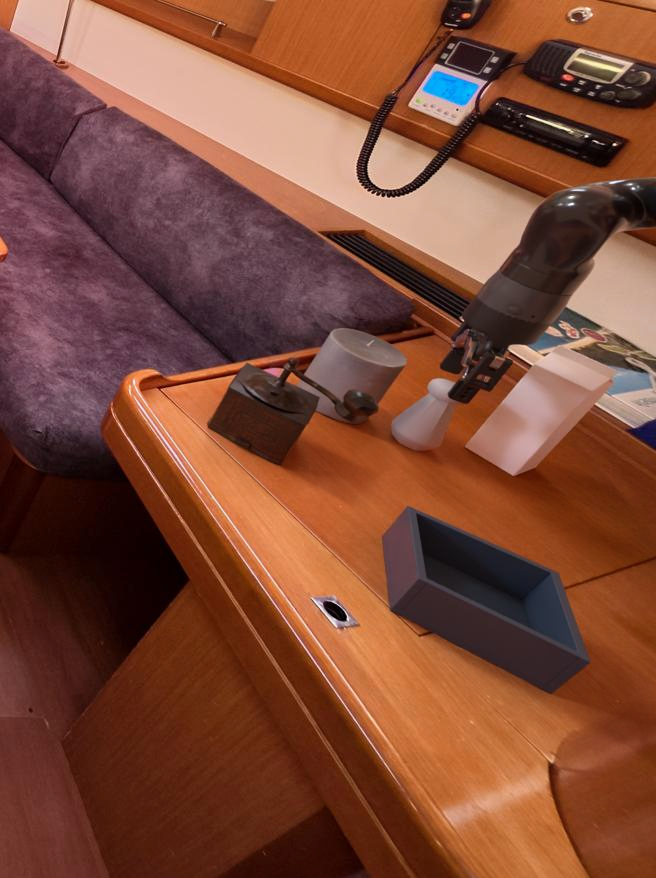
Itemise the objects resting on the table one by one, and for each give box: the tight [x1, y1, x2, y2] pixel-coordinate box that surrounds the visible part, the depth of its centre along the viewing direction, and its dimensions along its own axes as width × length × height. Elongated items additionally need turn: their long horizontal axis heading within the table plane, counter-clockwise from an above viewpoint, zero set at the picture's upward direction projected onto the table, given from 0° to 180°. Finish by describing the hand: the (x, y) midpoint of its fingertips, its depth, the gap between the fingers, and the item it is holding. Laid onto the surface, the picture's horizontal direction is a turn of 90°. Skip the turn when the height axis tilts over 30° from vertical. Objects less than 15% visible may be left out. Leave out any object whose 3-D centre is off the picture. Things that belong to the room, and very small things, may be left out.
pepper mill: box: [206, 356, 380, 466], centre depth 100 cm, size 16×11×18 cm
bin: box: [381, 505, 591, 695], centre depth 80 cm, size 14×14×7 cm
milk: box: [464, 345, 618, 477], centre depth 98 cm, size 6×6×22 cm
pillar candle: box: [296, 327, 408, 425], centre depth 109 cm, size 10×10×15 cm
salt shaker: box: [390, 377, 464, 452], centre depth 102 cm, size 6×6×13 cm
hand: (452, 384), depth 99 cm, fingers open, 8 cm apart
